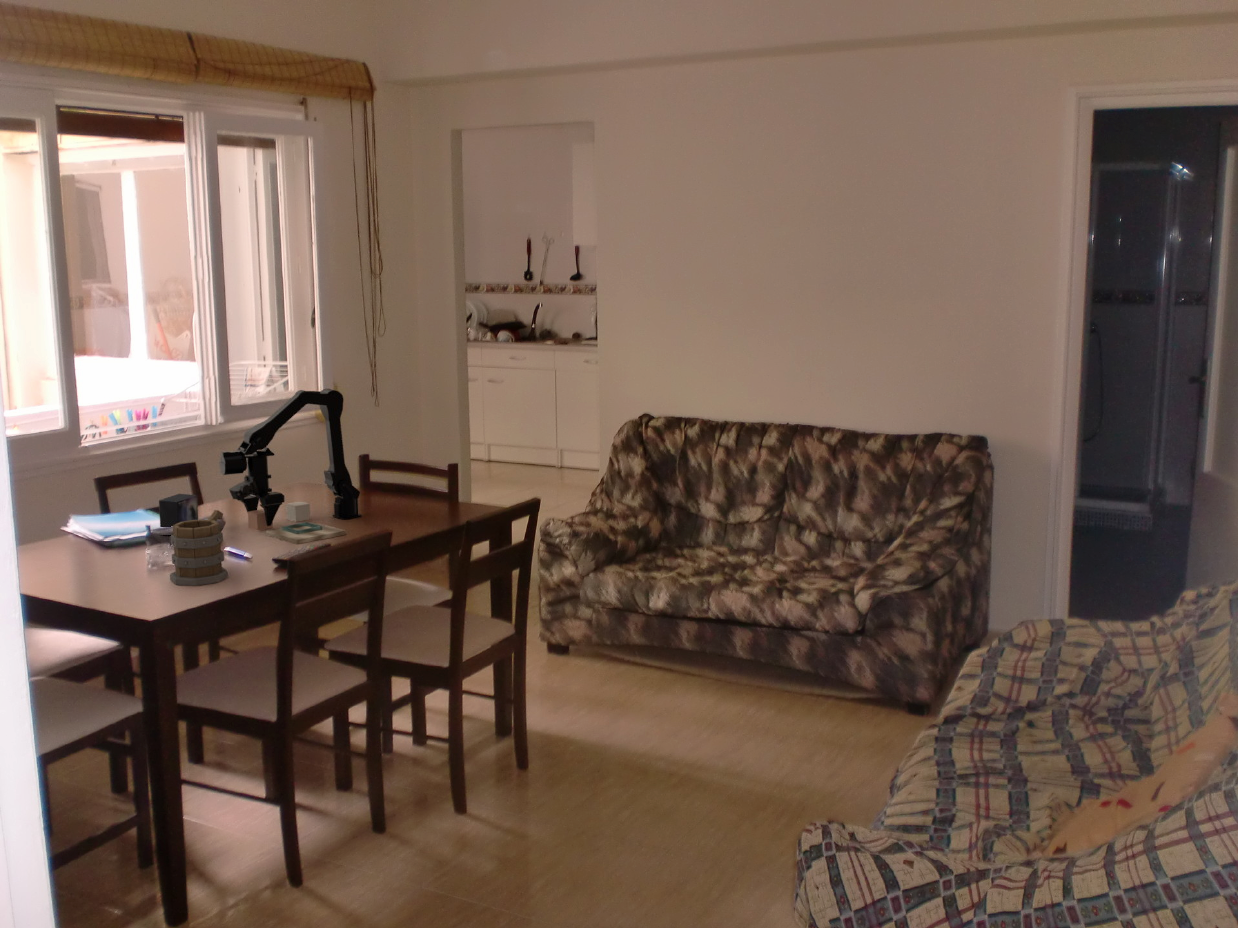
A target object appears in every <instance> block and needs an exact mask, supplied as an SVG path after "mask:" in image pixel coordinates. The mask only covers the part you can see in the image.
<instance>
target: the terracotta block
mask: <svg viewBox="0 0 1238 928" xmlns="http://www.w3.org/2000/svg"><path fill="white" fill-rule="evenodd" d="M247 516H248V517H247V522H248V529H251V530H254V531H257V532H259V531H262V530H263V531H264V530H268V529H269V530H270V529H273V528H274V526H273V525H274V524H273V523H274V521H273V522H272V524H271V526H267V524H266V518H265V512H264V509H263V508H262V509H261V508H260V509H257V510H255V511H249V512H248V513H247Z"/></svg>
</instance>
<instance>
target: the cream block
mask: <svg viewBox="0 0 1238 928" xmlns="http://www.w3.org/2000/svg"><path fill="white" fill-rule="evenodd" d="M285 507H286V520H288V521H291V522H296V523H299V522H301V521H302V522H303V521H308V520H311V505H310V503H309V502H305V501H294V502H288V503H286V506H285Z"/></svg>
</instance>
